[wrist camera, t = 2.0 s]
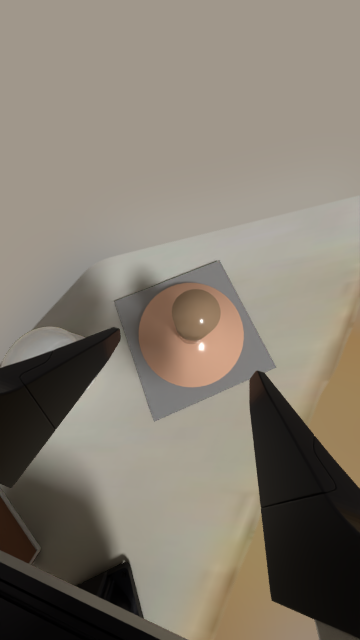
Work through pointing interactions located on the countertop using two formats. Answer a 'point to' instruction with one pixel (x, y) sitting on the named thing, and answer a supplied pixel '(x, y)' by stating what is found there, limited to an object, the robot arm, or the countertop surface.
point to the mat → (173, 397)
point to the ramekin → (39, 344)
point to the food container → (15, 533)
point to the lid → (191, 335)
